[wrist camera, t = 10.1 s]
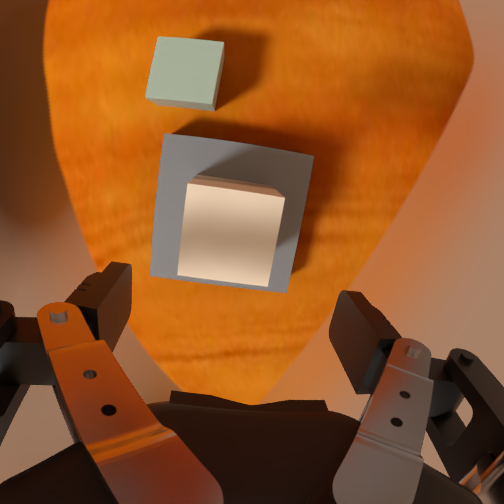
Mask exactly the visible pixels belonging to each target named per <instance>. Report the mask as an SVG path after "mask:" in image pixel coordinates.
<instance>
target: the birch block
mask: <svg viewBox="0 0 504 504" xmlns="http://www.w3.org/2000/svg"><path fill="white" fill-rule="evenodd" d="M284 201H285V197H284V196H283V195H281V194H280V193H279V192H278V191H277V190H276V189H275V188H274V187H273V186H270V185H264V184H258V183H251V182H245V181H238V180H232V179H225V178H218V177H211V176H203V175H196V176H195V177H194V178H193V179H192V180H190V181H189V182H188V184H187V192H186V199H185V207H184V216H183V224H182V233H181V242H180V252H179V262H178V273H177V275H180V276H187V277H194V278H202V279H209V280H217V281H225V282H232V283H240V284H248V285H257V286H265V287H268V283H269V278H270V273H271V268H272V263H273V258H274V253H275V248H276V243H277V238H278V232H279V227H280V222H281V217H282V212H283V207H284Z"/></svg>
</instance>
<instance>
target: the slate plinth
mask: <svg viewBox="0 0 504 504" xmlns="http://www.w3.org/2000/svg"><path fill="white" fill-rule="evenodd" d="M313 162H314V156H312V155H307V154H302V153H297V152H292V151H286V150H281V149H276V148H270V147H264V146H258V145H252V144H246V143H239V142H233V141H226V140H218V139H211V138H203V137H195V136H186V135H177V134H167V133H164V138H163V145H162V152H161V160H160V167H159V176H158V184H157V193H156V203H155V214H154V225H153V238H152V252H151V269H150V276H155V277H162V278H169V279H176V280H184V281H191V282H199V283H206V284H214V285H222V286H230V287H238V288H247V289H255V290H264V291H273V292H282V293H287V289H288V284H289V280H290V275H291V271H292V266H293V262H294V257H295V252H296V248H297V243H298V238H299V233H300V228H301V223H302V219H303V214H304V209H305V204H306V199H307V193H308V188H309V183H310V178H311V172H312V167H313ZM196 175H203V176H211V177H218V178H225V179H232V180H238V181H245V182H251V183H258V184H264V185H270V186H273V187H274V188H275V189H276V190H277V191H278V192H279V193H280V194H281V195H283V196H284V197H285V201H284V207H283V212H282V217H281V222H280V227H279V232H278V238H277V243H276V248H275V253H274V258H273V263H272V268H271V273H270V278H269V283H268V287H265V286H257V285H248V284H240V283H232V282H225V281H217V280H209V279H202V278H194V277H187V276H180V275H177V273H178V262H179V252H180V242H181V233H182V224H183V216H184V207H185V199H186V192H187V184H188V182H189V181H190V180H192V179H193V178H194V177H195V176H196Z"/></svg>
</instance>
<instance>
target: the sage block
mask: <svg viewBox="0 0 504 504" xmlns="http://www.w3.org/2000/svg"><path fill="white" fill-rule="evenodd" d="M224 59H225V55H224V42H219V41H211V40H201V39H189V38H175V37H158V39H157V43H156V47H155V52H154V56H153V61H152V65H151V70H150V75H149V80H148V85H147V90H146V96H145V98H146V99H148V100H150V101H152V102H153V103H155V104H157V105H159V106H171V107H181V108H191V109H200V110H208V111H215V107H216V101H217V95H218V90H219V85H220V79H221V74H222V69H223V64H224Z"/></svg>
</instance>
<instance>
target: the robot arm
mask: <svg viewBox="0 0 504 504" xmlns="http://www.w3.org/2000/svg"><path fill="white" fill-rule="evenodd" d="M131 304H132V267H131V264H126V263H119V262H111V263H110V264H109V265H108V266H107V267H106V268H105V269H104V271H103V272H102V273H101V272H96V273H94V274H92V275H90V276H87V277H86V278H85V280H84V281H83V282H82V283H81V284H80V285H79V286H78V287H77V290H76V289H75V290H74V292H73V293H72V294H71V295H70V296H69V297H68V298H67V299H66V301H65V302H56V303H50V304H47V305H45V306H44V307H42V308H41V309H40V310H39V311H38V313H37V317H15V312H14V307H13V305H12V304H11V303H9V302H7V301H2V300H0V445H1V443H2V441H3V439H4V437H5V435H6V432H7V430H8V428H9V426H10V424H11V422H12V420H13V418H14V416H15V414H16V412H17V410H18V408H19V406H20V404H21V402H22V400H23V398H24V396H25V395H26V393H27V391H28V389H29V387H30V385H52V388H53V390H54V393H55V396H56V399H57V402H58V405H59V407H60V410H61V412H62V415H63V417H64V420H65V422H66V425H67V427H68V430H69V433H70V435H71V438H72V440H73V442H74V444H73V445H71V446H69V447H68V448H66V449H64V450H62V451H60V452H58V453H57V454H55V455H53V456H51V457H49V458H48V459H46V460H44V461H42V462H40V463H38V464H37V465H34V466H33V467H31V468H29V469H27V470H25V471H23V472H21V473H19V474H17V475H15V476H13V477H11V478H9V479H7V480H6V481H4V482H2V483H1V484H0V504H504V387H503V386H502V385H501V383H500V382H499V381H498V380H497V379H496V377H495V376H494V375H493V374H492V373H491V372H490V371H489V370H488V368H487V367H486V366H485V365H484V364H483V363H482V362H481V360H480V359H479V358H478V357H477V356H475V355H474V354H472V353H471V352H469V351H467V350H464V349H458V348H456V349H452V350H451V351H450V353H449V355H448V357H447V359H446V360H441V359H436V358H431V352H430V350H429V349H428V348H427V347H426V346H425V345H424V344H422V343H420V342H418V341H416V340H413V339H409V338H402V337H401V336H400V334H399V333H398V332H397V331H396V329H395V328H394V327H393V326H392V325H391V324H390V322H389V321H388V320H387V319H386V317H385V316H384V315H383V314H382V313H381V312H380V310H378V309H377V308H375V307H374V306H372V305H371V304H370V303H369V302H368V300H367V299H366V298H365V297H364V295H363V294H362V293H361V292H356V291H346V290H343V291H341V292H340V294H339V296H338V300H337V303H336V307H335V310H334V313H333V317H332V320H331V324H330V327H329V338H330V341H331V343H332V345H333V347H334V349H335V351H336V353H337V355H338V357H339V359H340V362H341V363H342V366H343V368H344V370H345V372H346V374H347V376H348V378H349V380H350V382H351V384H352V386H353V388H354V390H355V392H356V394H370V395H371V396H370V398H369V400H368V402H367V404H366V406H365V408H364V410H363V412H362V414H361V416H360V418H359V420H358V421H357V420H355V419H353V418H351V417H349V416H346V415H343V414H341V413H337V412H333V411H328V408H327V406H326V403H325V401H324V400H286V401H280V402H274V403H267V404H260V405H246V404H242V403H238V402H234V401H230V400H227V399H223V398H219V397H215V396H212V395H205V394H196V393H187V392H179V391H171V395H170V401H165V402H157V403H151V404H147V405H146V404H145V402H144V401H143V399H142V398H141V396H140V395H139V394H138V392H137V391H136V389H135V388H134V386H133V385H132V383H131V382H130V380H129V379H128V377H127V376H126V374H125V373H124V371H123V369H122V368H121V366H120V365H119V363H118V362H117V360H116V358H115V357H114V355H113V353H112V352H113V350H114V348H115V346H116V344H117V342H118V339H119V337H120V335H121V333H122V331H123V329H124V327H125V325H126V323H127V321H128V319H129V316H130V312H131ZM464 397H465V398H466V399H467V401H468V402H469V404H470V405H471V407H472V410H473V417H472V419H471V421H470V423H469V424H468V426H467V427H466V426H465V425H464V423H463V422H462V420H461V419H460V417H459V416H458V414H457V412H456V410H457V408H458V407H459V405H460V403H461V402H462V400H463V399H464ZM425 431H426V432H427V433H428V435H429V437H430V439H431V441H432V443H433V445H434V447H435V449H436V451H437V452H438V455H439V457H440V458H441V461H442V463H443V464H444V467H445V468H446V471H447V473H448V475H449V476H450V478H449V477H447V476H446V475H444V474H442V473H441V472H439V471H437V470H435V469H434V468H432V467H430V466H429V465H427V464H425V463H424V462H423V457H421V449H422V445H423V440H424V436H425Z"/></svg>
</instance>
